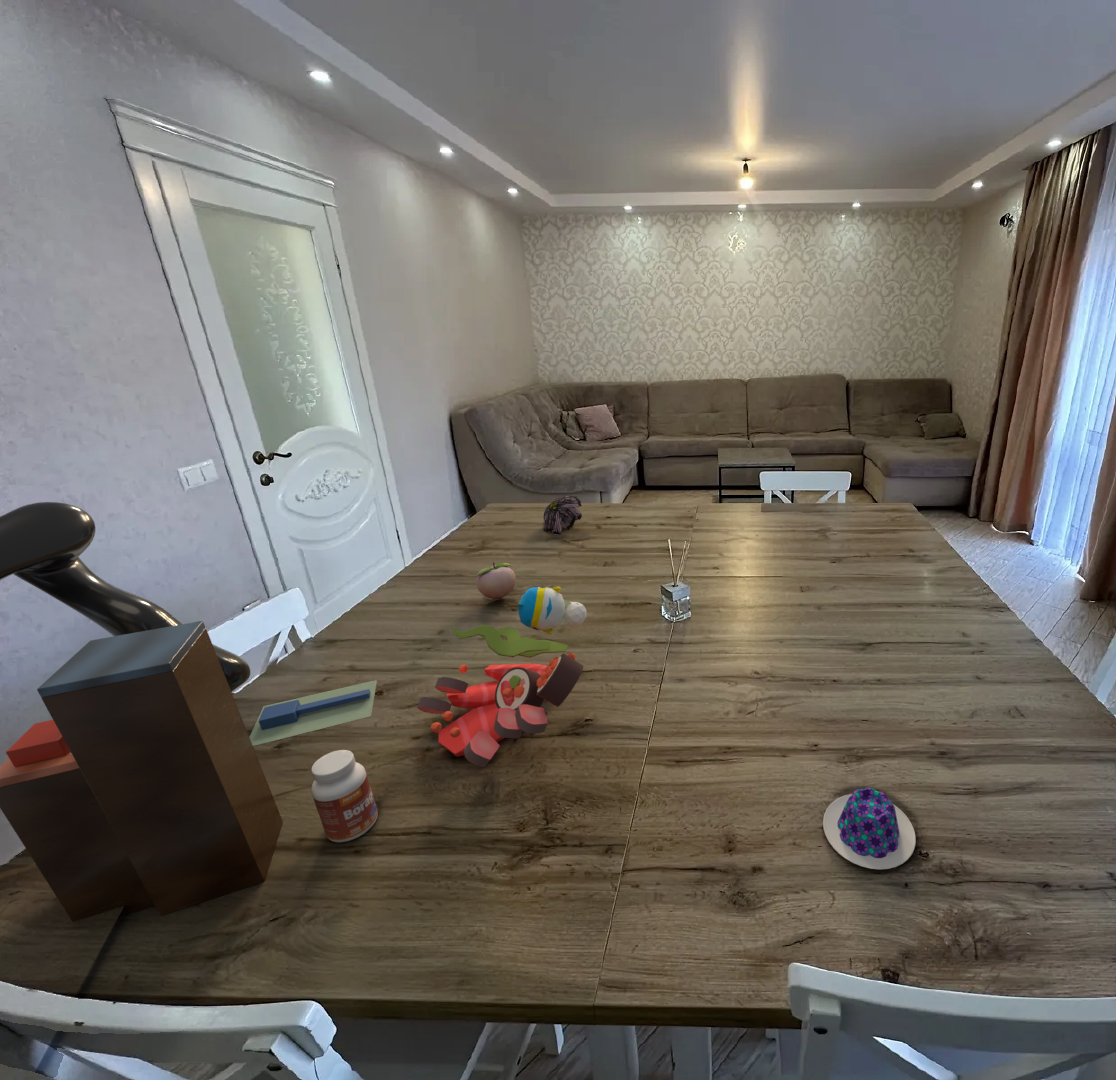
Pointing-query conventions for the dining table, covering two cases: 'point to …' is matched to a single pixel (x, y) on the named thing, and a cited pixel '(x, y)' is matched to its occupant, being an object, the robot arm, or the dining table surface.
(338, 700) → the blue spatula
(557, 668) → the sushi set
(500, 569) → the decorative fruit
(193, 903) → the wooden stand
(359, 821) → the pill bottle
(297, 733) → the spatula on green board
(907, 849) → the pudding
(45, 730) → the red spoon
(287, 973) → the dining table surface
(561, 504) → the decorative flower
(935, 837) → the dining table surface
